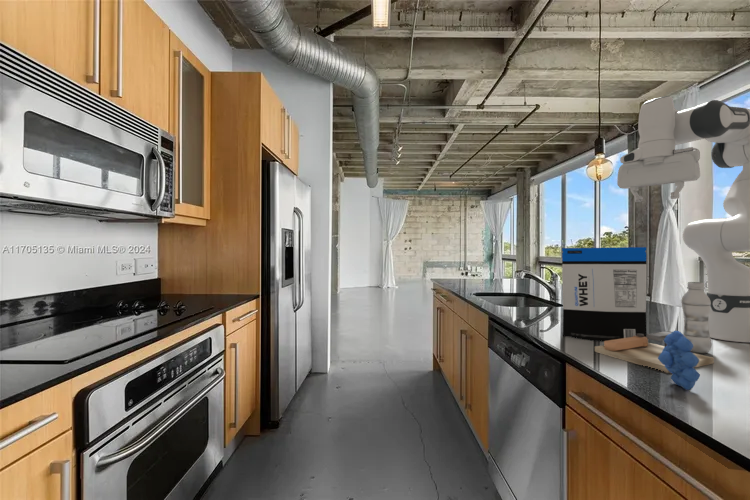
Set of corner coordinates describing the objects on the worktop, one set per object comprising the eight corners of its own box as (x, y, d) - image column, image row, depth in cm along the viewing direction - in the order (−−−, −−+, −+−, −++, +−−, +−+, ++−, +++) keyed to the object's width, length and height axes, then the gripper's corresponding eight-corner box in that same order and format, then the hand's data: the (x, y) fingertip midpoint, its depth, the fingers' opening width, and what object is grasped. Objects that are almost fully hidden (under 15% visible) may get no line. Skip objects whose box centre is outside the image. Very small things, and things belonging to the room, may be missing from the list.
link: (638, 342, 114) (638, 335, 114) (650, 345, 111) (650, 338, 111) (600, 348, 109) (600, 340, 109) (612, 351, 106) (612, 343, 106)
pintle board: (637, 344, 119) (637, 324, 119) (713, 363, 100) (713, 339, 100) (594, 351, 113) (594, 330, 112) (667, 372, 94) (667, 347, 94)
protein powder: (651, 344, 119) (651, 247, 118) (564, 339, 127) (564, 248, 126) (641, 337, 128) (641, 246, 127) (561, 332, 136) (560, 247, 135)
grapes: (646, 375, 92) (646, 325, 92) (679, 377, 91) (679, 326, 90) (670, 394, 81) (670, 337, 81) (708, 397, 79) (708, 339, 79)
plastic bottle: (717, 356, 106) (717, 283, 106) (689, 355, 108) (689, 283, 107) (702, 349, 113) (702, 281, 112) (676, 348, 114) (676, 281, 114)
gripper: (704, 147, 107) (704, 197, 107) (625, 160, 124) (624, 204, 124) (695, 143, 103) (694, 195, 103) (614, 158, 121) (614, 202, 121)
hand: (656, 200), depth 114 cm, fingers open, 8 cm apart
